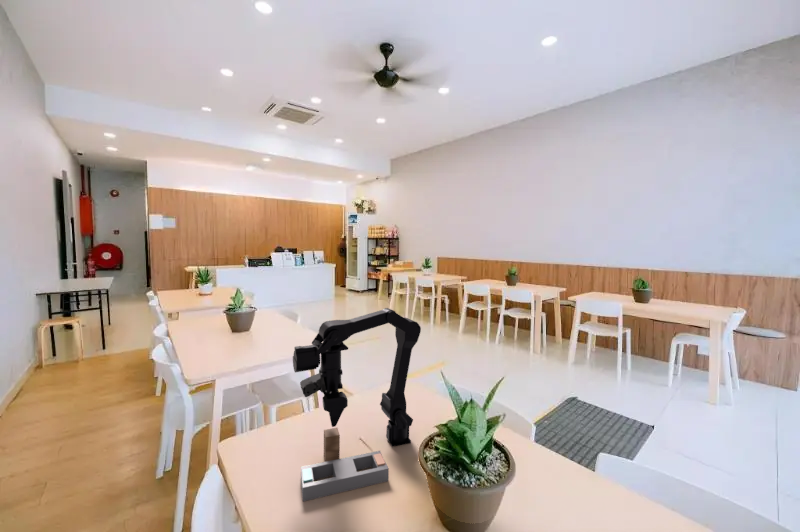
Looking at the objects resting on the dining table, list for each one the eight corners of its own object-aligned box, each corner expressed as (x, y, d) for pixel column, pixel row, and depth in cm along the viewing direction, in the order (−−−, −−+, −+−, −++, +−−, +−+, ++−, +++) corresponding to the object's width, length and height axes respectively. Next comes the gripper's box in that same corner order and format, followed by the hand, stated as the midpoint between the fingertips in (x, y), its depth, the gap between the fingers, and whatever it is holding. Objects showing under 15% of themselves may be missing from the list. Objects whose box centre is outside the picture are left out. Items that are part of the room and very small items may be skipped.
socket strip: (379, 462, 96) (380, 449, 95) (388, 480, 88) (388, 467, 88) (300, 479, 88) (300, 465, 88) (302, 501, 80) (302, 486, 80)
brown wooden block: (337, 453, 99) (337, 427, 99) (339, 461, 96) (339, 434, 95) (323, 455, 98) (323, 429, 97) (325, 464, 94) (325, 437, 94)
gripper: (300, 358, 101) (300, 407, 102) (304, 382, 83) (304, 441, 85) (336, 354, 105) (337, 401, 106) (347, 377, 87) (348, 433, 88)
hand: (331, 418), depth 96 cm, fingers open, 9 cm apart
